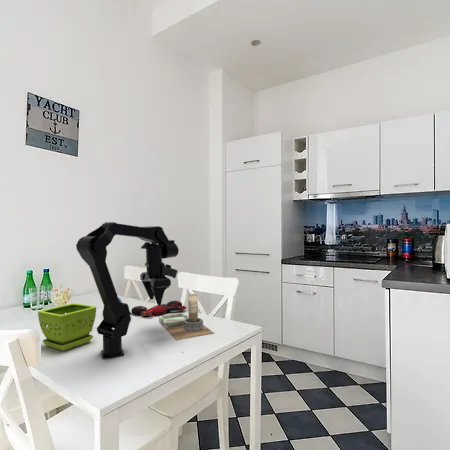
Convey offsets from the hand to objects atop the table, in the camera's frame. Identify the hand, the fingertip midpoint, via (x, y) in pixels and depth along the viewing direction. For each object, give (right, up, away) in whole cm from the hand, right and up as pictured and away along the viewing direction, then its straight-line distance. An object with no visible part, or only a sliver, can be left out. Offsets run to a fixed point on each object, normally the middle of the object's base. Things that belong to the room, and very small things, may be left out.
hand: (155, 302), depth 116 cm
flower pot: (-29, -14, -7) cm, 33 cm away
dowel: (+13, -12, +6) cm, 19 cm away
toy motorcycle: (-5, -14, +32) cm, 35 cm away
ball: (-27, -14, +32) cm, 44 cm away
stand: (+10, -13, +8) cm, 18 cm away
